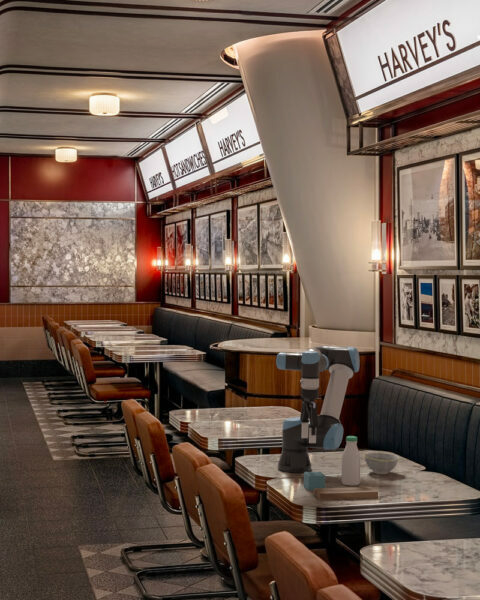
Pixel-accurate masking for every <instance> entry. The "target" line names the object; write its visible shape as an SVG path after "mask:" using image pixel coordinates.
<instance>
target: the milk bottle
mask: <svg viewBox="0 0 480 600" xmlns="http://www.w3.org/2000/svg"><path fill="white" fill-rule="evenodd" d="M345 442H346V444H345V448H344V449H343V452H342V456H341V479H340V480H341V485H345V486H351V487H352V486H353V487H355V486H359V485H360V483H361V454H360V451H359V449H358V445H357V444H358V436H355V435H348V436H346V437H345Z"/></svg>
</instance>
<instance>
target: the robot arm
mask: <svg viewBox="0 0 480 600" xmlns="http://www.w3.org/2000/svg"><path fill="white" fill-rule="evenodd" d="M275 358H276V359H275V365H276V368H277V369H278V370H284V371H299V372H300V373H301V374H300V375H301V377H300V378H301V379H300V380H299V383H300V387H301V389H300V397H301V398H302V399H301V409H300V411H301V412H300V416H298V417H297V416H296V417H291V418H286V419H284V420H283V422H282V428H281V431H282V434H281V435H282V438H281V445H282V446H281V447H282V448H281V454H280V457H279V459H278V461H277V470H279V471H281V472H286V473H287V472H288V473H304V472H312V462H311V459H310V455H309V448H311V449H319V450H321V449H322V450H326V451H329V450H337V449H339V447H340V445H341V444H342V440H343V437H344V436H343V435H344V427H343V424H342V422H341V420H340V415H341V412H342V407H343V404H344V399H345V396H346V392H347V387H348V385H349V379H352V378H353V376H354V373H357V372H359V371H360V367H361V366H360V363H361V362H360V354H359V351H358V348H356V347H355V346H349V345H347V346H341V345H339V346H338V345H319V346H314V347H310V348H308V349H306V350H302V351H295V352H279V353H278V354H277V355H276V357H275ZM324 371H328V372H329V373H330V376H329V380H328V384H327V386H326V387H327V388H326V392H325V396H324V399H323V403H322V407H321V411H320V414H318V403H317V402H315V399H318V398H319V396H320V395H319V393H320V391H319V388H320V372H324Z"/></svg>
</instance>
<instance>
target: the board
mask: <svg viewBox="0 0 480 600" xmlns="http://www.w3.org/2000/svg"><path fill="white" fill-rule="evenodd" d="M313 496H315V497H316V498H317V499H318V500H319V501H325V500H326V501H328V500H329V501H331V500H332V501H333V500H355V499H356V500H357V499H358V500H360V499H359V498H364V499H379V491H378V490H377V489H375V488H374V487H372V486H358V487H355V486H353V487H352V486H351V487H329V488H328V487H325V488H318V489H314V490H313Z"/></svg>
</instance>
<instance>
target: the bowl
mask: <svg viewBox="0 0 480 600" xmlns="http://www.w3.org/2000/svg"><path fill="white" fill-rule="evenodd" d="M363 458H364V460H365V463H366V466H367V467H368V469H370V470H371V471H372V473H374V474H377V475H388V474H389V472H391V471H392V470H394V469H395V468H396V465H397V464H398V462H399V460H400V456H399V455H396V454H393V453H388V452H366V453H364V454H363Z"/></svg>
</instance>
